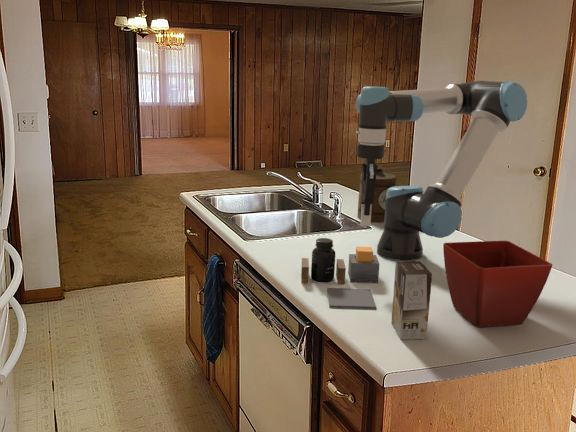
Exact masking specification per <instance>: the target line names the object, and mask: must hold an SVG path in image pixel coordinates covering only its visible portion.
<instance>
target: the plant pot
mask: <svg viewBox="0 0 576 432" xmlns="http://www.w3.org/2000/svg"><path fill="white" fill-rule="evenodd" d="M442 245H443V248H442V249H443V261H444V270H445V277H446V282H447V287H448V290H449V296H450V299H451V303H452V306H453V308H454V309H455V310H457V311H458V312H459V313H460V314H461V315H462V316H463V317H464V318H466V319H467V320H468V321H469V322H470V323H471V324H473V325H474V326H475V327H478V328H486V327H488V328H490V327H503V326H504V327H505V326H513V325H515V326H517V325H523V324H524V322H525V321H526V319H527V318H528V317H529V315H530V313H531V311H532V310H533V309H534V307H535V305H536V304H537V302H538V300H539V298H540V296H541V294H542V292H543V290H544V288H545V286H546V283H547V281H548V278H549V275H550V273H551V271H552V267H553V263H551V262H549V261H547V260H546V259H544V258H541V257H540V256H538V255H536V254H534V253H532V252H530V251H528V250H527V249H524V248H522V247H521V246H519V245H517V244H515V243H513V242H511V241H509V240H486V241H485V240H484V241H483V240H482V241H457V242H456V241H455V242H452V241H451V242H444V243H443V244H442Z"/></svg>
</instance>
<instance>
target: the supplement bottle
mask: <svg viewBox="0 0 576 432" xmlns="http://www.w3.org/2000/svg"><path fill="white" fill-rule="evenodd" d="M333 244H334V240H333V239H332V238H331V239H330V238H326V237H321V238H320V237H318V238H316V240H315V247H314V248H313V249H312V251H311V267H310V268H311V269H310V270H311V271H310V278H311V280H312V281H313V282H316V283H320V284H327V283H331V282H333V281H334V280H335V272H336V269H335V268H336V251H335V250H334V248H333V246H334V245H333Z"/></svg>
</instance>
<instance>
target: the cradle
mask: <svg viewBox="0 0 576 432" xmlns="http://www.w3.org/2000/svg"><path fill="white" fill-rule="evenodd" d="M309 259H310V258H309V257H302V258H301V270H300V271H301V274H300V275H301V276H300V277H301V280H300V281H301V283H300V284H302V285H309V277H310V276H309V275H310V260H309ZM335 268H336V269H335V277H336V282H337V285H339V286H345V285H346V272H347V271H346V264H345V260H344V258H336V264H335Z"/></svg>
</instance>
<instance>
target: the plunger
mask: <svg viewBox="0 0 576 432" xmlns="http://www.w3.org/2000/svg"><path fill="white" fill-rule="evenodd" d="M373 250H374V249H373V248H372V246H356V248H355V254H356V261H359V262H372V261H373V255H374V251H373Z"/></svg>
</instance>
